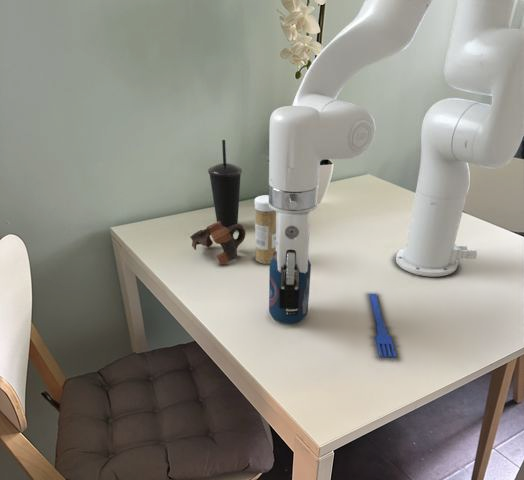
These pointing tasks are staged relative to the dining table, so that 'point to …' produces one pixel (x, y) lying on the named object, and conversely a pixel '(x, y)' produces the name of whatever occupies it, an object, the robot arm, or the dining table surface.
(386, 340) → the blue fork
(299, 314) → the soda can
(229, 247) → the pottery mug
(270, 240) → the sprinkles bottle
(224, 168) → the drinking cup
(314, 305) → the dining table surface
